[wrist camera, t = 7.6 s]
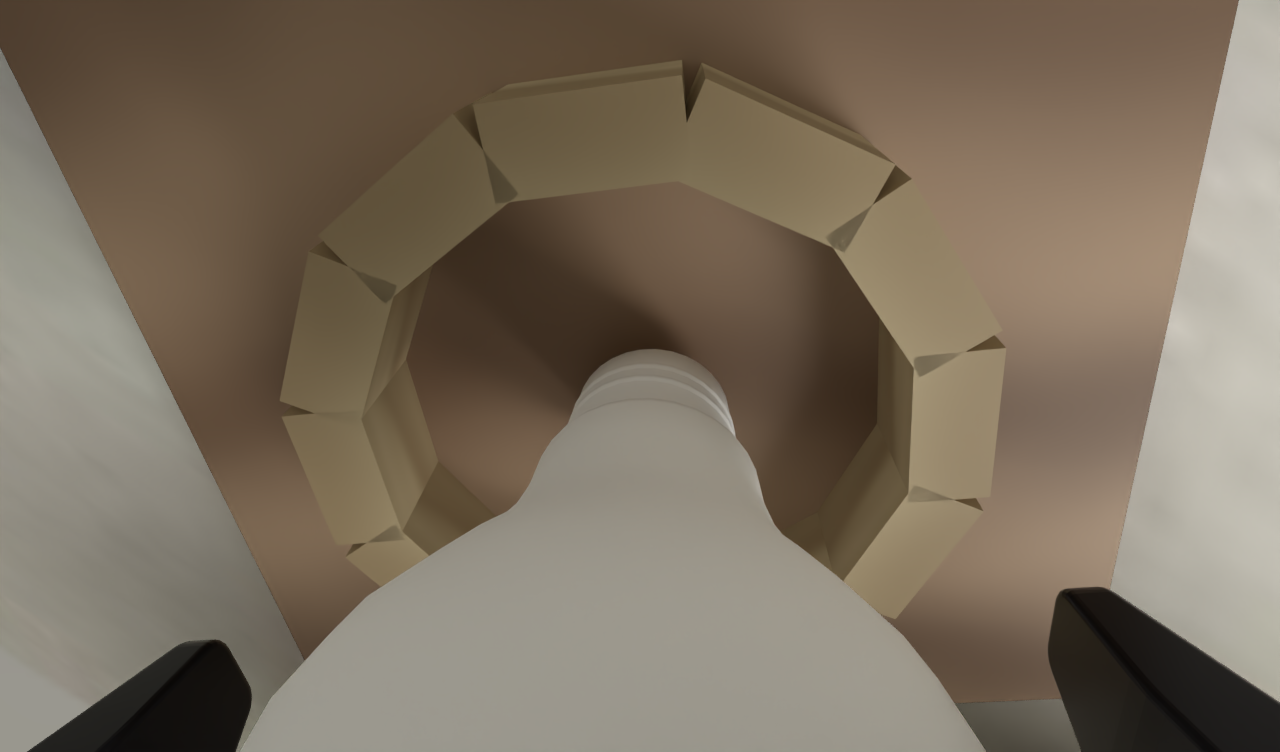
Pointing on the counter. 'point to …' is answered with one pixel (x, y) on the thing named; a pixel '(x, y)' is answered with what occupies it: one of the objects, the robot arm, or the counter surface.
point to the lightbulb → (620, 613)
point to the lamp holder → (654, 265)
